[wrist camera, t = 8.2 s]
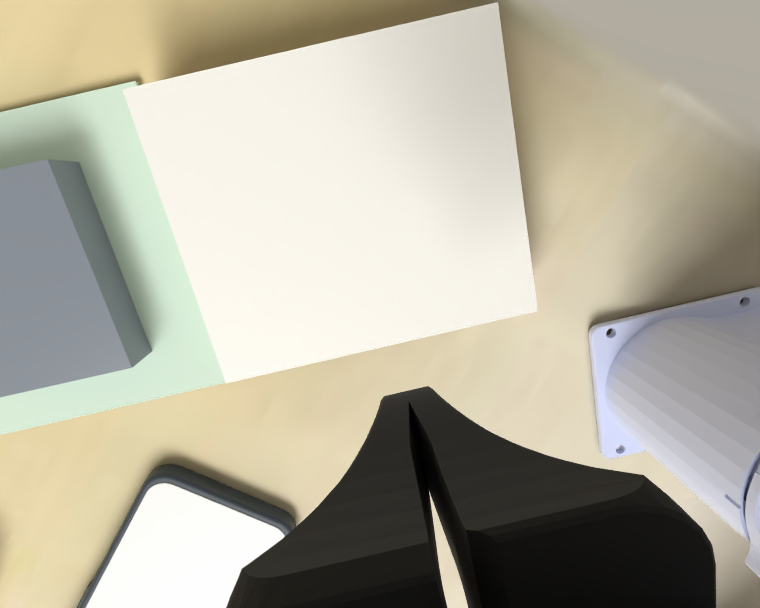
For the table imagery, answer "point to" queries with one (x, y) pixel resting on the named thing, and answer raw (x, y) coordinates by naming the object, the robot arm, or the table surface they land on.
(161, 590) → the phone case
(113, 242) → the mat
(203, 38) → the table surface
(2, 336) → the thick grey-blue block
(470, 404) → the table surface
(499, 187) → the white flat block
